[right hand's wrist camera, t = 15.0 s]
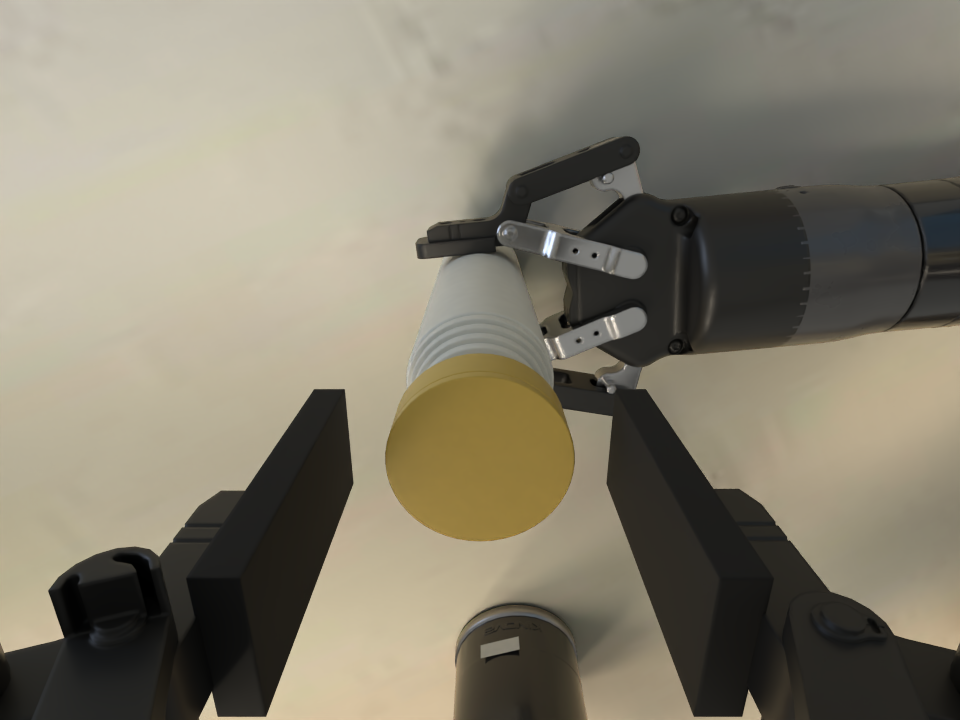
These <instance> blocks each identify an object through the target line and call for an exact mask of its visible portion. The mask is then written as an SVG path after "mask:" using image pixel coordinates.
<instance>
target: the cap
mask: <svg viewBox="0 0 960 720" xmlns="http://www.w3.org/2000/svg"><path fill="white" fill-rule="evenodd" d="M385 464H386V471H387V476H388V479H389V482H390V485H391V487H392V490H393V492H394V494H395V496H396V497H397V499H398V500H399V502H400V503H401V505H402V506H403V507H404V508H405V509H406V510H407V512H408V513H409V514H411V515H412V516H413V517H414V518H415V519H416V520H417V521H419V522H420V523H422V524H423V525H425V526H426V527H428V528H430V529H432V530H434V531H435V532H438V533H440V534H443V535H446V536H449V537H453V538H456V539H462V540H468V541H492V540H498V539H504V538H508V537H511V536H515V535H517V534H520V533H522V532H524V531H526V530H528V529H530V528H532V527H534V526H536V525H537V524H538V523H540V522H541V521H543V520H544V519H545V518H546V517H547V516H548V515H549V514H551V513H552V512H553V511H554V509H555V508H556V507H557V506H558V505H559V503H560V502H561V500H562V499H563V497H564V496H565V494H566V492H567V490H568V487H569V485H570V483H571V479H572V476H573V471H574V464H575V453H574V446H573V440H572V437H571V434H570V431H569V428H568V424H567V421H566V418H565V415H564V412H563V409H562V406H561V403H560V401H559V399H558V397H557V395H556V393H555V392H554V390H553V389H552V387H551V386H550V385H549V384H548V383H547V382H546V380H545V379H544V378H543V377H542V376H540V375H539V374H538V373H537V372H536V371H534V370H533V369H531V368H530V367H528V366H526V365H525V364H523V363H521V362H518V361H516V360H514V359H511V358H508V357H504V356H500V355H495V354H484V353H476V354H465V355H460V356H455V357H452V358H449V359H446V360H444V361H442V362H439V363H437V364H435V365H433V366H432V367H430V368H429V369H427V370H426V371H424V372H423V373H422V374H421V375H420V376H418V377H417V378H416V379H415V380H414V382H413V383H412V384H411V385H410V386H409V387H408V389H407V390H406V392H405V393H404V395H403V397H402V399H401V401H400V403H399V406H398V409H397V412H396V415H395V418H394V421H393V425H392V428H391V431H390V434H389V437H388V441H387V446H386V452H385Z"/></svg>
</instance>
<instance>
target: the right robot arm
mask: <svg viewBox="0 0 960 720" xmlns="http://www.w3.org/2000/svg"><path fill="white" fill-rule="evenodd" d="M352 486H353V473H352V463H351V452H350V441H349V430H348V419H347V408H346V398H345V389H314V390H313V392H312V393H311V395H310V396H309V398H308V399H307V401H306V402H305V404H304V405H303V407H302V408H301V410H300V411H299V413H298V414H297V415H296V417H295V418H294V420H293V421H292V423H291V424H290V426H289V427H288V429H287V430H286V432H285V433H284V435H283V436H282V437H281V439H280V440H279V442H278V443H277V445H276V446H275V448H274V449H273V451H272V452H271V454H270V455H269V457H268V458H267V460H266V461H265V462H264V464H263V465H262V467H261V468H260V470H259V471H258V473H257V474H256V476H255V477H254V479H253V480H252V482H251V483H250V485H249V486H248V487H247V489H246V490H245V491H220V492H219V493H217V494H216V495H214V496H213V497H211V498H210V499H208V500H207V501H206V502H204V503H203V504H201V505H200V506H199V507H198V508H197V509H196V510H195V512H194V513H193V514H192V516H191V517H190V518H189V519H188V521H187V522H186V523H185V527H182V528H181V530H180V531H179V532H178V534H177V535H176V536H175V537H174V539H173V543H170V544H169V545H168V546H167V548H166V549H165V550H164V552H163V553H162V554H161V555H160V557H159V556H157V555H156V554H155V553H154V552H153V551H151V550H150V549H145V548H140V547H126V548H116V549H113V550H109V551H106V552H102V553H99V554H96V555H94V556H92V557H90V558H88V559H86V560H83V561H81V562H79V563H77V564H75V565H74V566H73V567H71V568H70V569H69V570H67V571H66V572H65V573H63V574H62V575H61V576H59V577H58V579H57V580H56V581H55V583H54V584H53V585H52V587H51V588H50V589H49V590H48V591H49V594H50V597H51V600H52V603H53V606H54V609H55V612H56V615H57V618H58V621H59V624H60V626H61V629H62V632H63V635H64V638H63V639H60V640H57V641H53V642H49V643H45V644H41V645H36V646H32V647H28V648H24V649H19V650H15V651H11V652H7V653H4V651H3V649H2V646H1V644H0V720H199V716H200V714H201V712H202V710H203V708H204V706H205V704H206V702H207V700H208V698H209V696H210V694H211V692H212V694H213V698H214V702H215V707H216V711H217V715H218V717H266V715H267V713H268V710H269V707H270V705H271V702H272V699H273V697H274V694H275V691H276V689H277V686H278V683H279V681H280V678H281V675H282V673H283V670H284V667H285V665H286V662H287V659H288V657H289V654H290V651H291V649H292V646H293V643H294V641H295V638H296V635H297V633H298V630H299V627H300V625H301V622H302V619H303V617H304V614H305V611H306V609H307V606H308V603H309V601H310V598H311V595H312V593H313V590H314V587H315V585H316V582H317V579H318V577H319V574H320V571H321V569H322V566H323V563H324V561H325V558H326V555H327V553H328V550H329V547H330V545H331V542H332V539H333V537H334V534H335V531H336V529H337V526H338V523H339V521H340V518H341V515H342V513H343V510H344V507H345V505H346V502H347V499H348V497H349V494H350V491H351V489H352ZM607 486H608V489H609V491H610V494H611V497H612V499H613V502H614V505H615V507H616V510H617V513H618V515H619V518H620V521H621V523H622V526H623V529H624V531H625V534H626V537H627V539H628V542H629V545H630V547H631V550H632V553H633V555H634V558H635V561H636V563H637V566H638V569H639V571H640V574H641V577H642V579H643V582H644V585H645V587H646V590H647V593H648V595H649V598H650V601H651V603H652V606H653V609H654V611H655V614H656V617H657V619H658V622H659V625H660V627H661V630H662V633H663V635H664V638H665V641H666V643H667V646H668V649H669V651H670V654H671V657H672V659H673V662H674V665H675V667H676V670H677V673H678V675H679V678H680V681H681V683H682V686H683V689H684V691H685V694H686V697H687V699H688V702H689V705H690V707H691V710H692V713H693V715H694V717H742V715H743V711H744V707H745V702H746V698H747V694H748V689H749V691H750V693H751V695H752V697H753V699H754V701H755V703H756V705H757V707H758V709H759V711H760V713H761V715H762V717H761V720H960V644H959V646H958V649H957V651H955V650H951V649H947V648H943V647H938V646H934V645H930V644H926V643H921V642H917V641H913V640H909V639H905V638H902V637H898V636H895V635H894V634H893V633H892V631H891V630H890V628H889V627H888V625H887V624H886V622H884V621H883V620H882V619H881V618H880V617H879V616H877V615H876V614H875V613H874V612H873V611H872V610H870V609H869V608H867V607H865V606H863V605H861V604H860V603H858V602H856V601H854V600H852V599H850V598H847V597H844V596H841V595H838V594H835V593H832V592H830V591H829V590H828V588H827V587H826V586H825V585H824V583H823V582H822V581H821V579H820V578H819V577H818V576H817V574H816V573H815V572H814V571H813V569H812V568H811V567H810V565H809V564H808V563H807V562H806V560H805V559H804V558H803V557H802V555H801V554H800V553H799V551H798V550H797V549H796V548H795V546H794V545H793V544H792V543H791V541H788V540H787V536H786V535H785V534H784V532H783V531H782V530H781V529H780V527H779V526H776V524H775V521H774V520H773V518H772V517H771V516H770V515H769V513H768V512H767V511H766V509H765V508H764V507H763V506H762V504H760V503H759V502H757V501H756V500H755V499H753V498H752V497H750V496H749V495H747V494H746V493H744V492H743V491H741V490H740V489H713V487H712V486H711V485H710V483H709V482H708V480H707V479H706V477H705V476H704V474H703V473H702V471H701V470H700V468H699V467H698V465H697V464H696V462H695V461H694V460H693V458H692V457H691V455H690V454H689V452H688V451H687V449H686V448H685V446H684V445H683V443H682V442H681V440H680V439H679V437H678V436H677V435H676V433H675V432H674V430H673V429H672V427H671V426H670V424H669V423H668V421H667V420H666V418H665V417H664V415H663V414H662V413H661V411H660V410H659V408H658V407H657V405H656V404H655V402H654V401H653V399H652V398H651V396H650V395H649V393H648V392H647V390H646V389H615V398H614V408H613V419H612V430H611V441H610V452H609V463H608V473H607Z"/></svg>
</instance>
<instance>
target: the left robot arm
mask: <svg viewBox="0 0 960 720" xmlns="http://www.w3.org/2000/svg"><path fill="white" fill-rule="evenodd" d="M639 153H640V147H639V144H638V142H637V141H636V140H635V139H634V138H632V137H613V138H609V139H607V140H604V141H602V142H599V143H596V144H594V145H591V146H589V147H586V148H584V149H581V150H579V151H576V152H573V153H571V154H568V155H566V156H563V157H561V158H558V159H555V160H553V161H550V162H548V163H545V164H543V165H540V166H538V167H535V168H532V169H530V170H527V171H525V172H522V173H520V174H517V175H514V176H512V177H511V178H510V179H509V180H508V182H507V184H506V190H505V194H504V198H503V202H502V205H501V208H500V210H499V211H498V212H497V213H496V214H495V215H493V216H491V217H487V218H477V219H466V220H456V221H446V222H438V223H437V224H435V225H433V226H431V227H429V229H428V230H427V236H428V237H423V238H420V239H418V240H417V242H416V250H417V258H418V259H429V258H439V257H450V256H461V255H470V254H481V253H492V252H496V247H498V246H506V247H510V248H514V249H518V250H522V251H527V252H531V253H535V254H539V255H542V256H545V257H547V258H550V259H553V260H557V261H561V262H562V270H563V273H564V276H565V279H566V282H567V287H566V291H565V295H564V311H561V312H559V313H557V314H554V315H552V316H550V317H548V318H546V319H545V320H544V321H543V322H542V323H540V324H539V325H540V328H541V331H542V334H543V337H544V341H545V344H546V347H547V350H548V353H549V356H550V359H551V361H552V360H554V359H559V360H562V359H566V358H569V357H571V356H574V355H576V354H579V353H581V352H584V351H586V350H588V349H591V348H593V347H597V348H599V349H601V350H602V351H604V352H606V353H608V354H609V355H611V356H613V357H615V358H616V359H618V360H620V361H619V362H618V363H617V364H616V365H615V366H612V367H603V368H600V369H598V370H597V371H596V372H595V374H588V373H581V372H575V371H569V370H562V369H556V368H553V374H554V386H553V390H554V392H555V393H556V395H557V397H558V399H559V401H560V403H561V406H562V408H563V409H570V410H576V411H582V412H589V413H595V414H602V415H608V416H613V408H614V398H615V389H636V387H637V383H638V380H639V376H640V373H641V369H642V367H645V366H648V365H650V364H652V363H653V362H655V361H657V360H659V359H660V358H663V357H666V356H669V355H693V354H704V353H716V352H727V351H738V350H749V349H761V348H772V347H783V346H794V345H805V344H816V343H825V342H833V341H838V340H843V339H848V338H852V337H856V336H861V335H866V334H872V333H879V332H888V331H900V330H911V329H922V328H938V327H949V326H958V325H960V176H958V177H953V178H944V179H935V180H927V181H916V182H906V183H896V184H886V185H875V186H852V185H819V186H806V187H800V186H794V185H792V186H783V187H779V188H776V189H774V190H765V191H755V192H745V193H734V194H724V195H714V196H704V197H694V198H684V199H673V200H663V199H659V198H657V197H655V196H653V195H650V194H646V193H643V189H642V185H641V181H640V177H639V173H638V170H637V166H636V162H635V161H636V160H637V158H638V157H639ZM587 181H589V183H590V185H591V186H592V187H593V188H595V189H597V190H600V191H608V190H614V191H616V192H617V193H618V195H619V197H620V198H619V199H618V200H617V201H616V202H614V203H613V204H612V205H611V206H610V207H608V208H607V209H606V210H605V211H604V212H603V213H601V214H600V215H599V216H598V217H597V218H595V219H594V220H593V221H592V222H591V223H590V224H588V225H587V226H586V227H585V228H584V229H583V230H581V231H580V230H576V229H572V228H568V227H564V226H560V225H556V224H551V223H544V222H539V221H535V220H531V219H527V217H528V213H529V210H530V206H531V203H532V202H535V201H537V200H540V199H543V198H545V197H548V196H550V195H553V194H556V193H558V192H561V191H563V190H566V189H569V188H571V187H574V186H577V185H579V184H582V183H584V182H587ZM568 322H569V323H568ZM578 338H579V339H578ZM577 339H578V340H577ZM455 665H456V684H455V700H454V720H588V719H587V714H586V708H585V703H584V698H583V692H582V686H581V680H580V675H579V670H578V664H577V652H576V647H575V642H574V638H573V635H572V633H571V631H570V630H569V628H568V627H567V626H566V625H565V623H564V622H563V621H561V620H560V619H559V618H558V617H556V616H555V615H553V614H552V613H550V612H548V611H545V610H543V609H540V608H536V607H532V606H526V605H508V606H502V607H497V608H493V609H491V610H488V611H486V612H484V613H482V614H480V615H478V616H477V617H475V618H474V619H472V620H471V621H470V622H469V623H468V624H467V625H466V626H465V627H464V629H463V630H462V632H461V633H460V635H459V637H458V640H457V644H456V655H455Z"/></svg>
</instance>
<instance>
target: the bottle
mask: <svg viewBox="0 0 960 720" xmlns="http://www.w3.org/2000/svg"><path fill="white" fill-rule="evenodd" d="M476 353H484V354H495V355H500V356H504V357H508V358H511V359H514V360H516V361H518V362H521V363H523V364H525V365H526V366H528V367H530V368H531V369H533V370H534V371H536V372H537V373H538V374H539V375H540V376H542V377H543V378H544V379H545V380H546V382H547V383H548V384H549V385H550V386H551V387H552V389H553V386H554V374H553V366H552V363H551V359H550V356H549V353H548V350H547V347H546V344H545V341H544V337H543V334H542V331H541V328H540V325H539V322H538V319H537V316H536V313H535V310H534V307H533V304H532V301H531V298H530V295H529V292H528V289H527V286H526V283H525V280H524V277H523V274H522V271H521V268H520V265H519V262H518V259H517V256H516V253H515V251H514V250H513V248H510V247H506V246H498V247H496V252H492V253H481V254H470V255H461V256H450V257H443V260H442V263H441V266H440V269H439V272H438V275H437V278H436V281H435V284H434V287H433V290H432V293H431V296H430V299H429V302H428V305H427V308H426V311H425V314H424V317H423V320H422V323H421V326H420V329H419V332H418V335H417V338H416V341H415V344H414V347H413V350H412V353H411V356H410V359H409V363H408V367H407V376H406V382H407V389H408V387H409V386H410V385H411V384H412V383H413V382H414V380H415V379H416V378H417V377H418V376H420V375H421V374H422V373H423V372H424V371H426V370H427V369H429V368H430V367H432V366H433V365H435V364H437V363H439V362H442V361H444V360H446V359H449V358H452V357H455V356H460V355H465V354H476Z"/></svg>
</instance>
